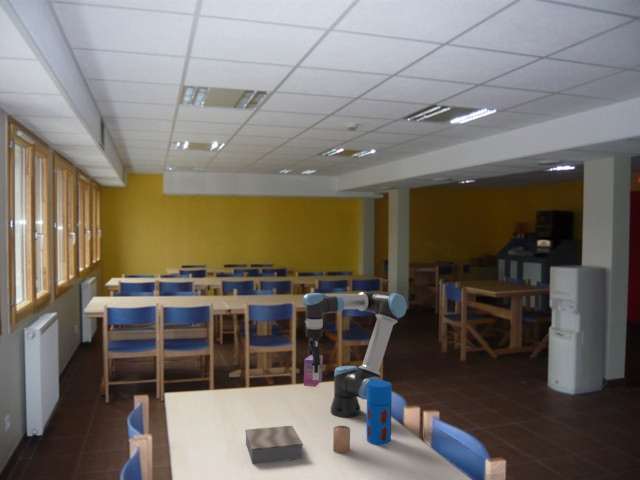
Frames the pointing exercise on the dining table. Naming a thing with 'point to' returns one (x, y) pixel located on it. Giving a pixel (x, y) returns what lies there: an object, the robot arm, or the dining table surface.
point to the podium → (273, 444)
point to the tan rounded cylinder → (341, 439)
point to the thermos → (379, 412)
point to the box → (311, 372)
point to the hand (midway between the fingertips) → (313, 376)
